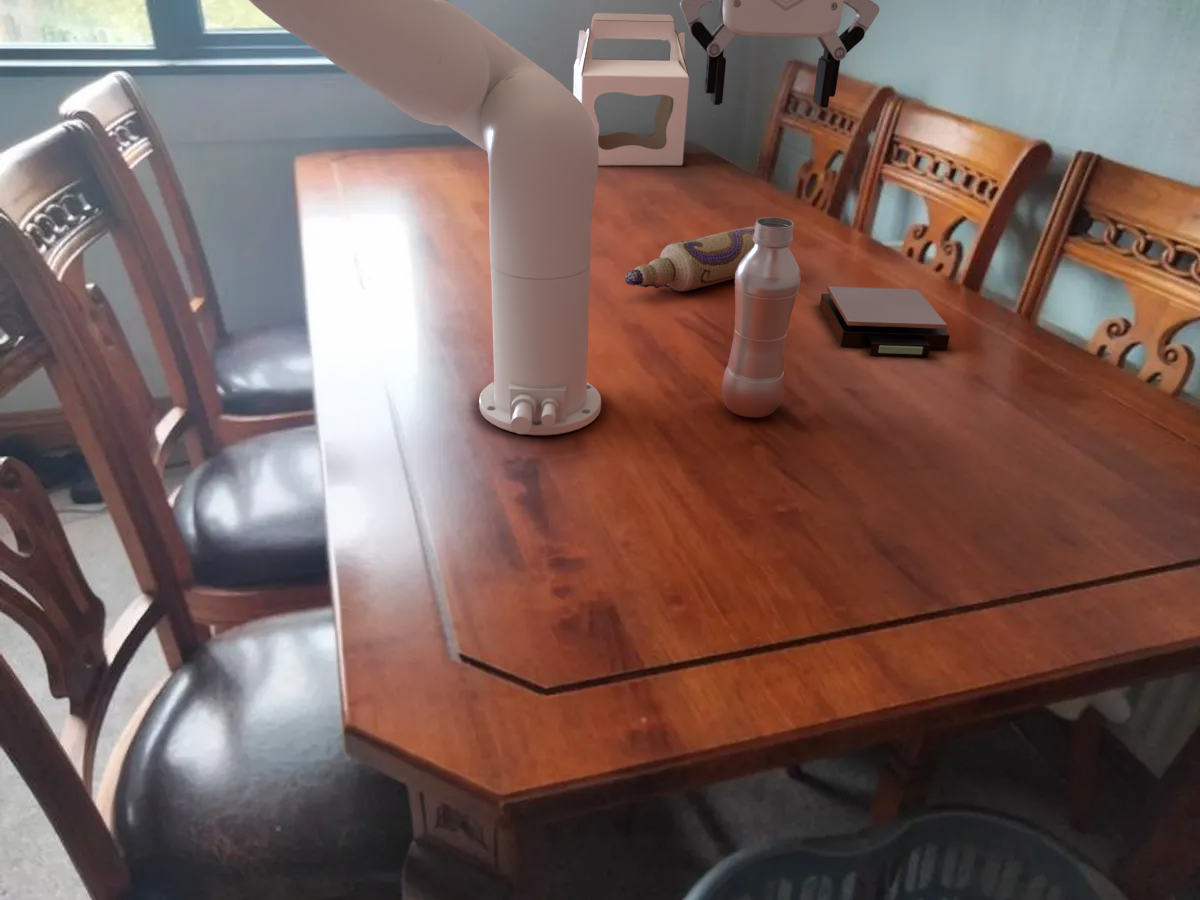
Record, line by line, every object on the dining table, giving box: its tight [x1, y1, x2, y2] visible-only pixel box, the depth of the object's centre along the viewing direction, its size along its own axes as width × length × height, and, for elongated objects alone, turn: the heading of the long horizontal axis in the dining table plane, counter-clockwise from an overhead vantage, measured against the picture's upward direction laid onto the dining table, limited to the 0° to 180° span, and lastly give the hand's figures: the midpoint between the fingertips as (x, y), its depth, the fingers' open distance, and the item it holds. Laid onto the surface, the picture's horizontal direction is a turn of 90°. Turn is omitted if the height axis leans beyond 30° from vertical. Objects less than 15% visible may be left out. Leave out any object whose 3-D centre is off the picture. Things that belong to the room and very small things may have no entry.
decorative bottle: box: [624, 224, 755, 292], centre depth 127 cm, size 26×8×7 cm, turn 125°
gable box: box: [572, 12, 690, 167], centre depth 187 cm, size 22×13×28 cm, turn 98°
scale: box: [819, 285, 951, 358], centre depth 115 cm, size 16×13×3 cm
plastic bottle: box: [721, 216, 802, 418], centre depth 91 cm, size 6×7×20 cm
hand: (768, 103), depth 83 cm, fingers open, 9 cm apart
